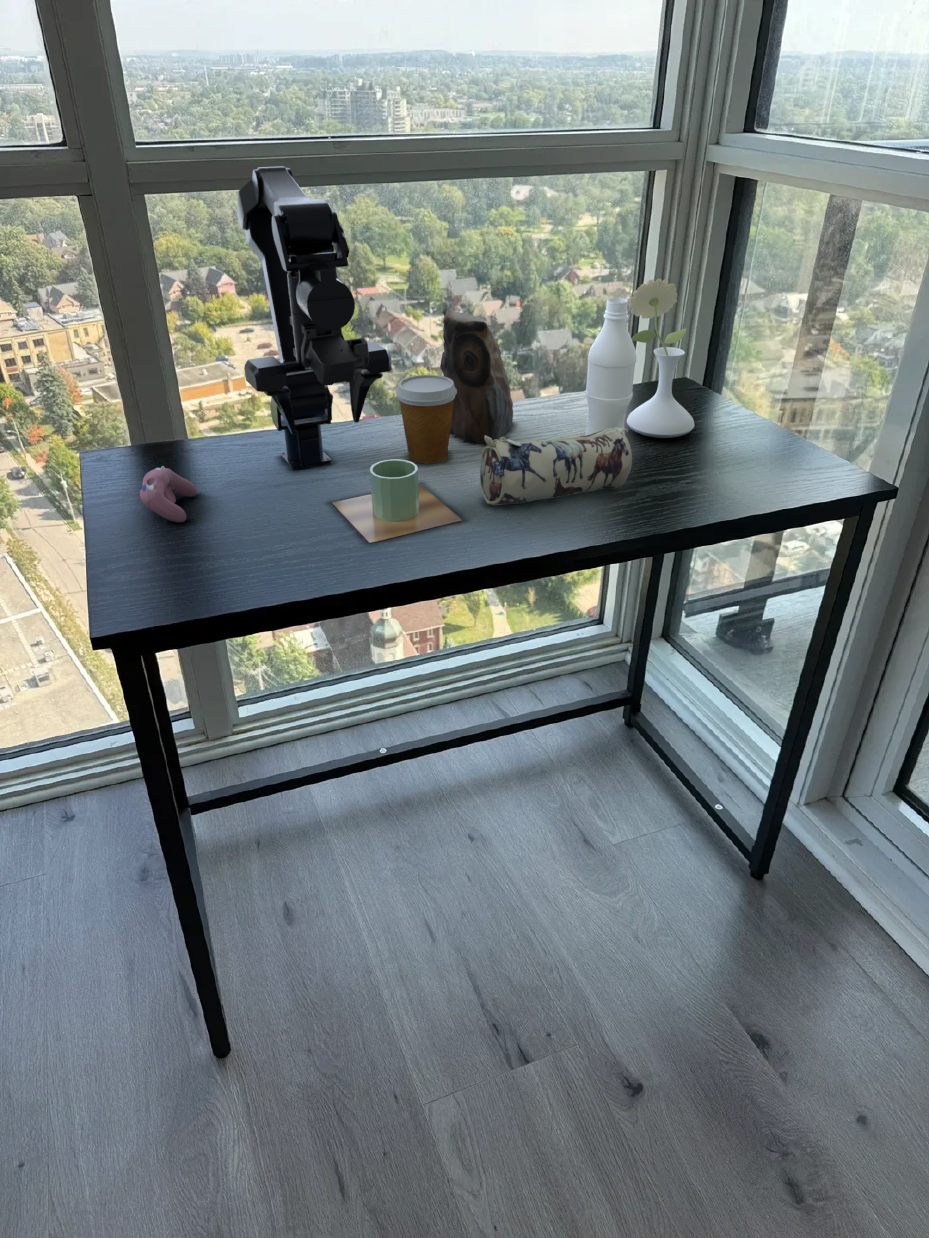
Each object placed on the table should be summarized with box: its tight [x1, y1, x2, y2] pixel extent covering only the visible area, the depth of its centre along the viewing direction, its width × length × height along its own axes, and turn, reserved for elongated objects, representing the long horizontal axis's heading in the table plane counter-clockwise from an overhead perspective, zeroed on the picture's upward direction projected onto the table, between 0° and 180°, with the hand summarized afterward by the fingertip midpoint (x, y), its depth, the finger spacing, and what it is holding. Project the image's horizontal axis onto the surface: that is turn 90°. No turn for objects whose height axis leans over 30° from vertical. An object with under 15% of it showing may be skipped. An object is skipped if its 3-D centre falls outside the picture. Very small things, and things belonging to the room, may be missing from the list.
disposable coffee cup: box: [395, 374, 457, 464], centre depth 136 cm, size 10×10×12 cm
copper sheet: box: [331, 482, 463, 544], centre depth 123 cm, size 14×14×1 cm
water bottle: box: [584, 297, 637, 436], centre depth 130 cm, size 7×7×25 cm
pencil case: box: [479, 427, 633, 506], centre depth 125 cm, size 22×8×10 cm, turn 108°
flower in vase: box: [626, 278, 695, 439], centre depth 142 cm, size 13×11×25 cm
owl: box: [439, 306, 514, 447], centre depth 143 cm, size 13×13×20 cm
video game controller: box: [139, 465, 198, 523], centre depth 122 cm, size 10×5×7 cm, turn 5°
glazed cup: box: [369, 458, 419, 522], centre depth 121 cm, size 7×7×6 cm
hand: (325, 427), depth 119 cm, fingers open, 9 cm apart
